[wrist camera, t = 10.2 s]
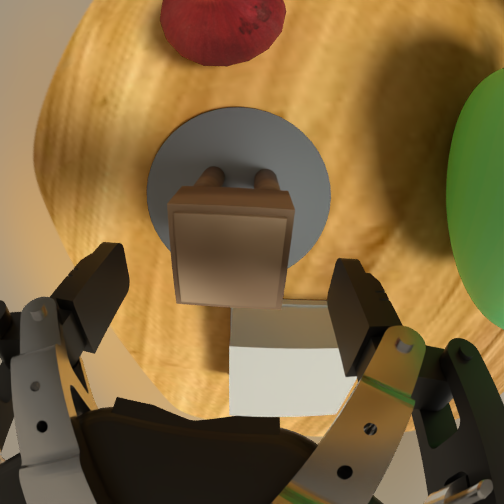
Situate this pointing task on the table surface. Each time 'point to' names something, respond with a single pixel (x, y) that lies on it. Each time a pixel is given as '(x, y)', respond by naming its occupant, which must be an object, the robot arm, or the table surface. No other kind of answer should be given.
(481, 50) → the table surface
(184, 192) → the walnut stool
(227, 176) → the charcoal felt mat
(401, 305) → the table surface
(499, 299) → the toy bird
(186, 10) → the onion
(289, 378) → the white square box
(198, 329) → the table surface
